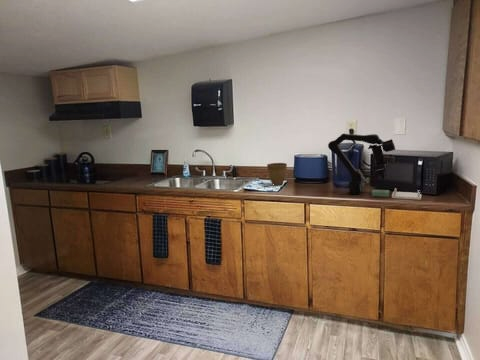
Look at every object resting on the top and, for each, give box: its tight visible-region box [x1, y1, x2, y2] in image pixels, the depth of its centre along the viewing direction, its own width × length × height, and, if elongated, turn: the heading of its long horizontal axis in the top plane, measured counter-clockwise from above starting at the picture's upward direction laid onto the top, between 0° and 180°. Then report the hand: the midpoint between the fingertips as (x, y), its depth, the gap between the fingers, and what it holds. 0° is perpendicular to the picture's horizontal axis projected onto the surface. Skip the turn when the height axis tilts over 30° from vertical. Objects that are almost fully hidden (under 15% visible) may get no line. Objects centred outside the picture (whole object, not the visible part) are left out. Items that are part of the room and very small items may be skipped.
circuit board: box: [371, 189, 390, 198], centre depth 225 cm, size 10×6×3 cm, turn 65°
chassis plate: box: [391, 187, 422, 201], centre depth 218 cm, size 16×12×4 cm
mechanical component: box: [359, 176, 371, 193], centre depth 235 cm, size 3×10×10 cm, turn 36°
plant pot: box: [266, 162, 288, 186], centre depth 269 cm, size 15×15×16 cm
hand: (384, 177), depth 222 cm, fingers open, 9 cm apart
